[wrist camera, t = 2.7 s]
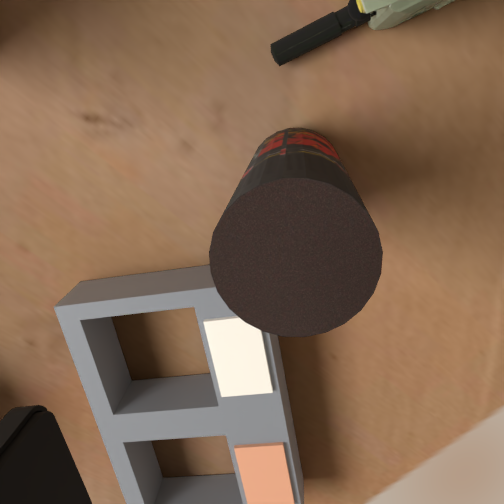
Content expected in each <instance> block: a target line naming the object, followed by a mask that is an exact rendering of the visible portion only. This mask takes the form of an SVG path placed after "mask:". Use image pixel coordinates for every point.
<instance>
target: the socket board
mask: <svg viewBox="0 0 504 504" xmlns="http://www.w3.org/2000/svg"><path fill="white" fill-rule="evenodd" d="M189 307H194V308H195V312H196V316H197V320H198V324H199V328H200V332H201V336H202V340H203V344H204V349H205V353H206V357H207V361H208V365H209V369H210V373H209V374H198V375H187V376H177V377H166V378H155V379H144V380H134V381H132V380H131V377H130V374H129V371H128V368H127V365H126V362H125V358H124V355H123V352H122V349H121V346H120V343H119V340H118V337H117V334H116V331H115V328H114V324H113V321H112V318H111V316H120V315H129V314H137V313H146V312H154V311H163V310H172V309H180V308H189ZM54 309H55V312H56V315H57V317H58V320H59V323H60V325H61V328H62V331H63V334H64V336H65V339H66V342H67V344H68V347H69V350H70V352H71V355H72V358H73V361H74V363H75V366H76V369H77V371H78V374H79V377H80V380H81V382H82V385H83V388H84V390H85V393H86V396H87V398H88V401H89V404H90V407H91V409H92V412H93V415H94V417H95V420H96V423H97V425H98V428H99V431H100V434H101V436H102V439H103V442H104V444H105V447H106V450H107V452H108V455H109V458H110V461H111V463H112V466H113V469H114V471H115V474H116V477H117V479H118V482H119V485H120V488H121V490H122V493H123V496H124V498H125V501H126V504H304V479H303V474H302V468H301V463H300V457H299V452H298V446H297V440H296V435H295V429H294V424H293V418H292V413H291V407H290V401H289V396H288V390H287V385H286V379H285V373H284V368H283V362H282V357H281V351H280V346H279V340H278V335H275V334H271V333H267V332H263V331H261V330H259V329H257V328H255V327H253V326H251V325H249V324H247V323H245V322H244V321H243V320H242V319H240V318H239V317H238V316H237V315H236V314H235V313H233V312H232V311H231V310H230V309H229V308H228V306H227V305H226V304H225V302H224V301H223V299H222V298H221V296H220V295H219V294H218V292H217V289H216V287H215V284H214V281H213V278H212V276H211V272H210V265H204V266H196V267H189V268H181V269H173V270H165V271H158V272H150V273H142V274H135V275H127V276H119V277H112V278H104V279H96V280H89V281H81V282H79V283H78V284H77V285H76V286H75V287H74V288H73V289H72V290H71V291H70V292H69V293H68V294H67V295H66V296H65V297H64V298H63V299H61V300H60V301H59V302H58V303H57V304H56V305H55V306H54ZM220 435H226V437H227V441H228V445H229V449H230V453H231V458H232V462H233V466H234V470H235V474H221V475H204V476H187V477H170V478H163V476H162V473H161V470H160V467H159V464H158V461H157V458H156V454H155V451H154V448H153V445H152V442H151V440H164V439H178V438H192V437H206V436H220Z"/></svg>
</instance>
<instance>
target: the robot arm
mask: <svg viewBox="0 0 504 504" xmlns="http://www.w3.org/2000/svg"><path fill="white" fill-rule="evenodd" d="M0 504H92V502H91V499H90V497H89V495H88V493H87V490H86V488H85V486H84V483H83V481H82V479H81V476H80V474H79V472H78V469H77V467H76V465H75V462H74V460H73V458H72V456H71V453H70V451H69V449H68V446H67V444H66V442H65V439H64V437H63V435H62V432H61V430H60V428H59V425H58V423H57V421H56V419H55V416H54V415H53V413H51V412H48V411H47V409H46V408H45V407H44V406H41V405H35V406H26V407H16V408H13V409H11V410H10V411H9V412H8V413H7V414H6V415H5V416H4V418H3V419H2V420H1V421H0Z"/></svg>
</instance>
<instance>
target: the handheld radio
mask: <svg viewBox="0 0 504 504" xmlns="http://www.w3.org/2000/svg"><path fill="white" fill-rule="evenodd" d="M453 1H455V0H350V1H349V3H348V6H346V7H344V8H343V9H341V10H339V11H337V12H335V13H334V12H332V13H330V14H328V15H326V16H324V17H322V18H320V19H318V20H316V21H314V22H313V23H311V24H309V25H307V26H305V27H303V28H301V29H299V30H297V31H295V32H293V33H291V34H289V35H288V36H286V37H284V38H282V39H280V40H278V41H276V42H274V43H272V44H271V53H272V56H273V58H274V60H275V62H276V63H277V64H278V65H279V66H281V65H283V64H285V63H287V62H289V61H291V60H293V59H295V58H297V57H299V56H301V55H303V54H305V53H307V52H309V51H310V50H312V49H314V48H316V47H318V46H320V45H322V44H324V43H326V42H328V41H330V40H332V39H334V38H336V37H338V36H340V35H342V33H343V32H345V31H347V30H349V29H351V28H353V27H355V26H356V27H358V26H360V25H362V24H364V23H366V22H368V25H369V27H370V28H372V29H373V30H382V29H388V28H391V27H394V26H397V25H398V24H400V23H402V22H404V21H406V20H409V19H411V18H413V17H415V16H417V15H419V14H421V13H423V12H425V11H427V10H430V9H432V8H434V9H437V10H439V9H440V8H441V7H443V6H445V5H447V4H449V3H451V2H453Z"/></svg>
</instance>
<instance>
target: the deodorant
mask: <svg viewBox="0 0 504 504" xmlns="http://www.w3.org/2000/svg"><path fill="white" fill-rule="evenodd" d="M382 255H383V251H382V247H381V242H380V238H379V233H378V230H377V228H376V226H375V224H374V222H373V221H372V219H371V217H370V215H369V213H368V211H367V209H366V207H365V206H364V204H363V202H362V200H361V198H360V196H359V194H358V192H357V190H356V189H355V187H354V185H353V183H352V181H351V179H350V177H349V175H348V173H347V172H346V170H345V168H344V166H343V164H342V162H341V160H340V158H339V157H338V155H337V153H336V151H335V149H334V148H333V146H332V145H331V144H330V143H329V142H328V141H327V140H326V139H325V138H324V137H323V136H321V135H320V134H318V133H316V132H314V131H312V130H308V129H303V128H288V129H285V130H282V131H278V132H276V133H275V134H273V135H271V136H270V137H268V138H267V139H266V140H265V141H264V142H263V143H262V144H261V145H260V146H259V147H258V149H257V151H256V153H255V155H254V156H253V158H252V160H251V162H250V164H249V166H248V168H247V170H246V172H245V173H244V175H243V177H242V179H241V181H240V183H239V185H238V187H237V188H236V190H235V192H234V194H233V196H232V198H231V200H230V202H229V203H228V205H227V207H226V209H225V211H224V213H223V215H222V217H221V218H220V220H219V222H218V224H217V226H216V228H215V230H214V232H213V236H212V241H211V246H210V251H209V258H210V272H211V276H212V278H213V281H214V284H215V287H216V289H217V292H218V294H219V295H220V296H221V298H222V299H223V301H224V302H225V304H226V305H227V306H228V308H229V309H230V310H231V311H232V312H233V313H235V314H236V315H237V316H238V317H239V318H240V319H242V320H243V321H244V322H245V323H247V324H249V325H251V326H253V327H255V328H257V329H259V330H261V331H263V332H267V333H271V334H275V335H279V336H283V337H307V336H312V335H316V334H321V333H326V332H328V331H330V330H332V329H334V328H336V327H338V326H341V325H343V324H345V323H346V322H347V321H349V320H350V319H351V318H352V317H353V316H355V315H356V314H357V313H358V312H360V311H361V310H362V308H363V307H364V306H365V304H366V303H367V301H368V300H369V299H370V297H371V296H372V295H373V293H374V291H375V288H376V285H377V283H378V280H379V278H380V275H381V268H382Z"/></svg>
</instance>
